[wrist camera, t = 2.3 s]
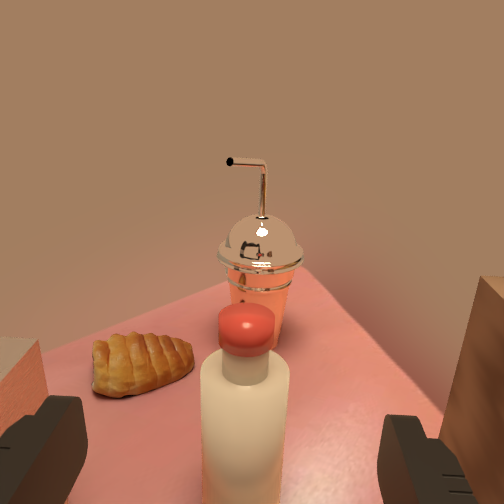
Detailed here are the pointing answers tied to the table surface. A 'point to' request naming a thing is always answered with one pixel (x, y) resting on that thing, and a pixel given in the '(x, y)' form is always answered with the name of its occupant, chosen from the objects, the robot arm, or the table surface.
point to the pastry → (139, 363)
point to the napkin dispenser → (20, 380)
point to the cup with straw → (260, 255)
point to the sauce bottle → (243, 410)
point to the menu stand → (480, 396)
